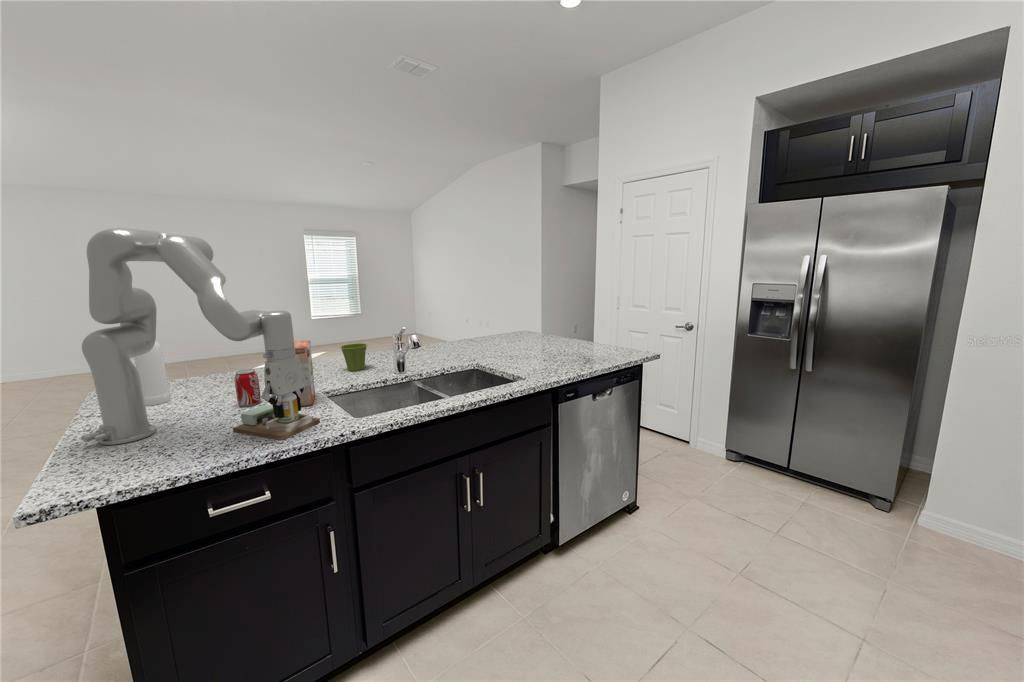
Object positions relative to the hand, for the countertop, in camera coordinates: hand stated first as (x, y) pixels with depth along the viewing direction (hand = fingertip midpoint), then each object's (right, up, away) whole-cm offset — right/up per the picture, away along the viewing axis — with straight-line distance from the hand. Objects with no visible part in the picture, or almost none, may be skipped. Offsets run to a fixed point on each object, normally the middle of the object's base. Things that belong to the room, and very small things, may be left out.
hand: (288, 413), depth 126 cm
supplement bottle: (0, -2, 0) cm, 2 cm away
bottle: (-62, -1, +28) cm, 68 cm away
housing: (-11, -3, +5) cm, 12 cm away
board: (-5, -5, +3) cm, 7 cm away
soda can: (-26, -1, +24) cm, 36 cm away
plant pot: (-6, +8, +70) cm, 71 cm away
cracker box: (-8, 0, +27) cm, 28 cm away
